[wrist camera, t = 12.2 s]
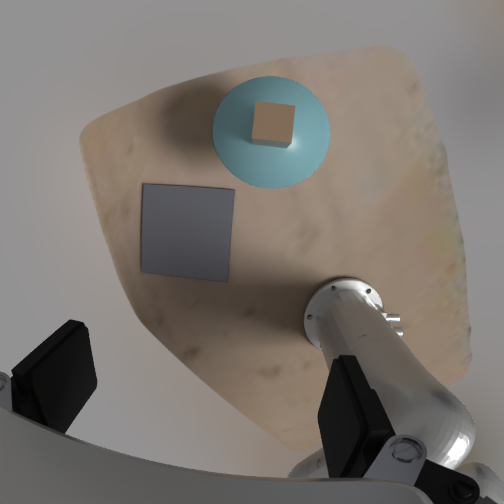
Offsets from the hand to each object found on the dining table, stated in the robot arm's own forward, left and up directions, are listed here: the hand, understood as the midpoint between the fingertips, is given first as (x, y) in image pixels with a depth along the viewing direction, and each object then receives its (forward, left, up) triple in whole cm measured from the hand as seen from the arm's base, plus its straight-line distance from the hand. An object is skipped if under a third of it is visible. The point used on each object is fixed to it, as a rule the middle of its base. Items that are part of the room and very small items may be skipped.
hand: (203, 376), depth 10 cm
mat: (+9, +1, -33) cm, 34 cm away
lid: (-2, -12, -23) cm, 26 cm away
